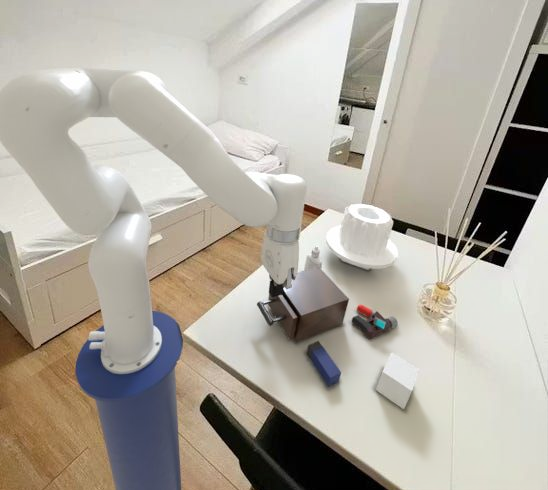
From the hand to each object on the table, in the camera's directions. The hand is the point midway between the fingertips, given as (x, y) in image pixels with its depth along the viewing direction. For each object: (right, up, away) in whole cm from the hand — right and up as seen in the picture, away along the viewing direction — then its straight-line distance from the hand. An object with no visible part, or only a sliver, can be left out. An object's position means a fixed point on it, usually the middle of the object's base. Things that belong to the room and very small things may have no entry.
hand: (275, 293), depth 71 cm
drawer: (+4, -9, +7) cm, 12 cm away
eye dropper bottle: (+12, -3, +24) cm, 27 cm away
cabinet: (+8, -9, +9) cm, 15 cm away
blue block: (+11, -15, -5) cm, 19 cm away
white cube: (+26, -18, -7) cm, 33 cm away
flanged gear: (+30, 0, +36) cm, 47 cm away
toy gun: (+27, -11, +9) cm, 30 cm away
